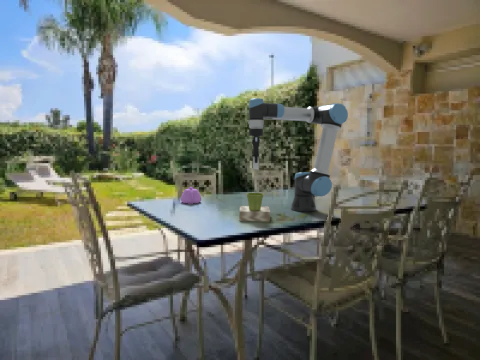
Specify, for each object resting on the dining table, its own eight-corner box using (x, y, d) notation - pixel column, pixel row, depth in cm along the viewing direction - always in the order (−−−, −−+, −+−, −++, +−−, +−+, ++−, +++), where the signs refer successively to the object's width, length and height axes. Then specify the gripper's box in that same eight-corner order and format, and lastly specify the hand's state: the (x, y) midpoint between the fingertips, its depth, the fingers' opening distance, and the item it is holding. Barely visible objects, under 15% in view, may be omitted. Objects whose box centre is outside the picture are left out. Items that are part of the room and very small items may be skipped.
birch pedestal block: (268, 215, 204) (268, 206, 203) (270, 221, 188) (270, 211, 187) (239, 214, 204) (240, 206, 204) (239, 220, 188) (239, 211, 188)
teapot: (200, 199, 257) (200, 185, 255) (202, 204, 237) (202, 188, 236) (180, 200, 254) (180, 185, 253) (181, 205, 234) (180, 188, 233)
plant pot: (262, 212, 187) (262, 195, 186) (244, 211, 189) (244, 194, 188) (264, 208, 196) (265, 193, 195) (247, 208, 198) (248, 192, 197)
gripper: (248, 129, 204) (248, 166, 206) (249, 127, 179) (248, 170, 181) (262, 129, 204) (261, 166, 206) (264, 127, 179) (263, 170, 181)
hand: (255, 168), depth 193 cm, fingers open, 13 cm apart
